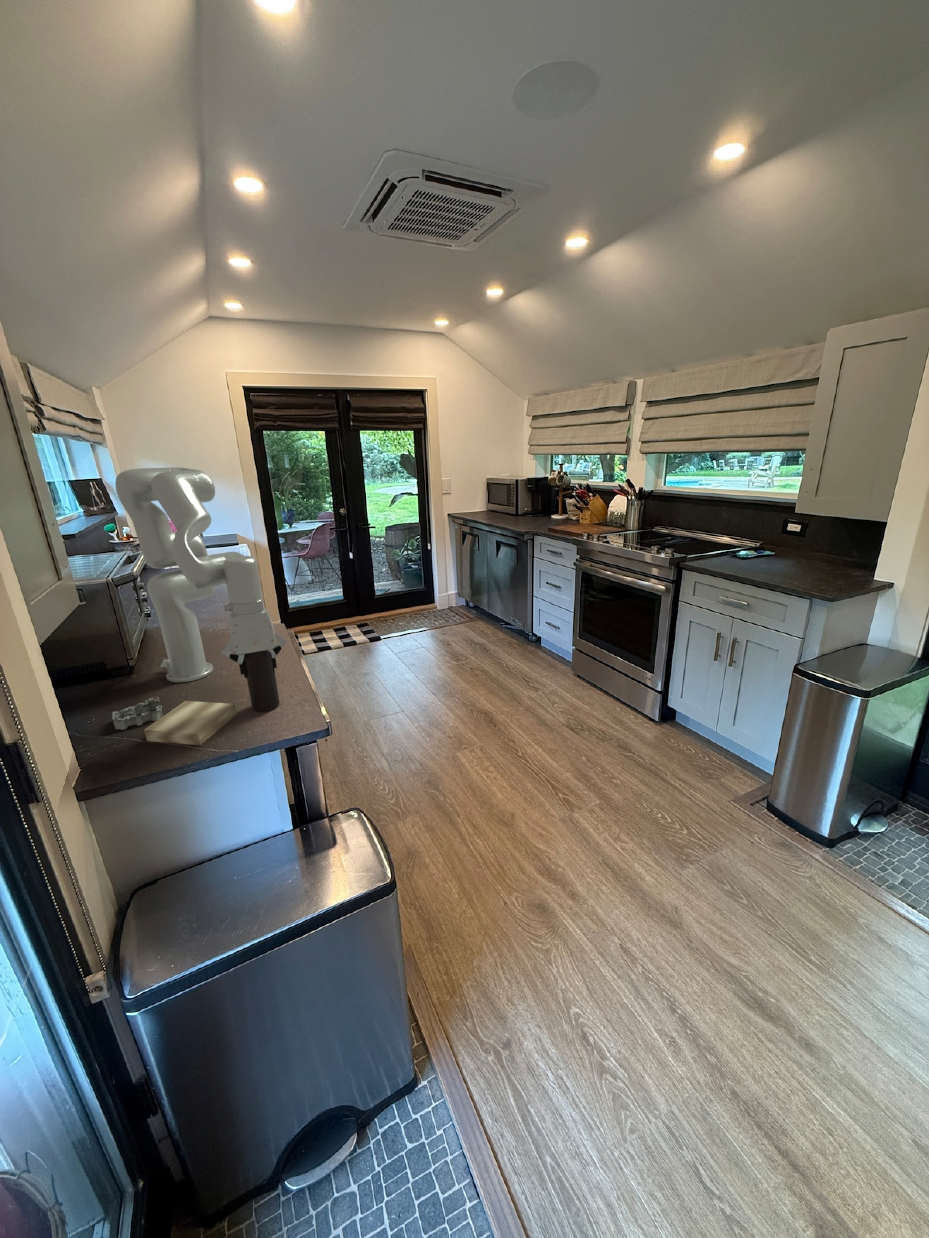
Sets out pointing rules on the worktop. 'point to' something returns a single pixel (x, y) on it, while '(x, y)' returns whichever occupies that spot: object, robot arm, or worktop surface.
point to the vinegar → (261, 681)
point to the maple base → (191, 723)
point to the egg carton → (142, 709)
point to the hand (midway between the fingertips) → (259, 672)
